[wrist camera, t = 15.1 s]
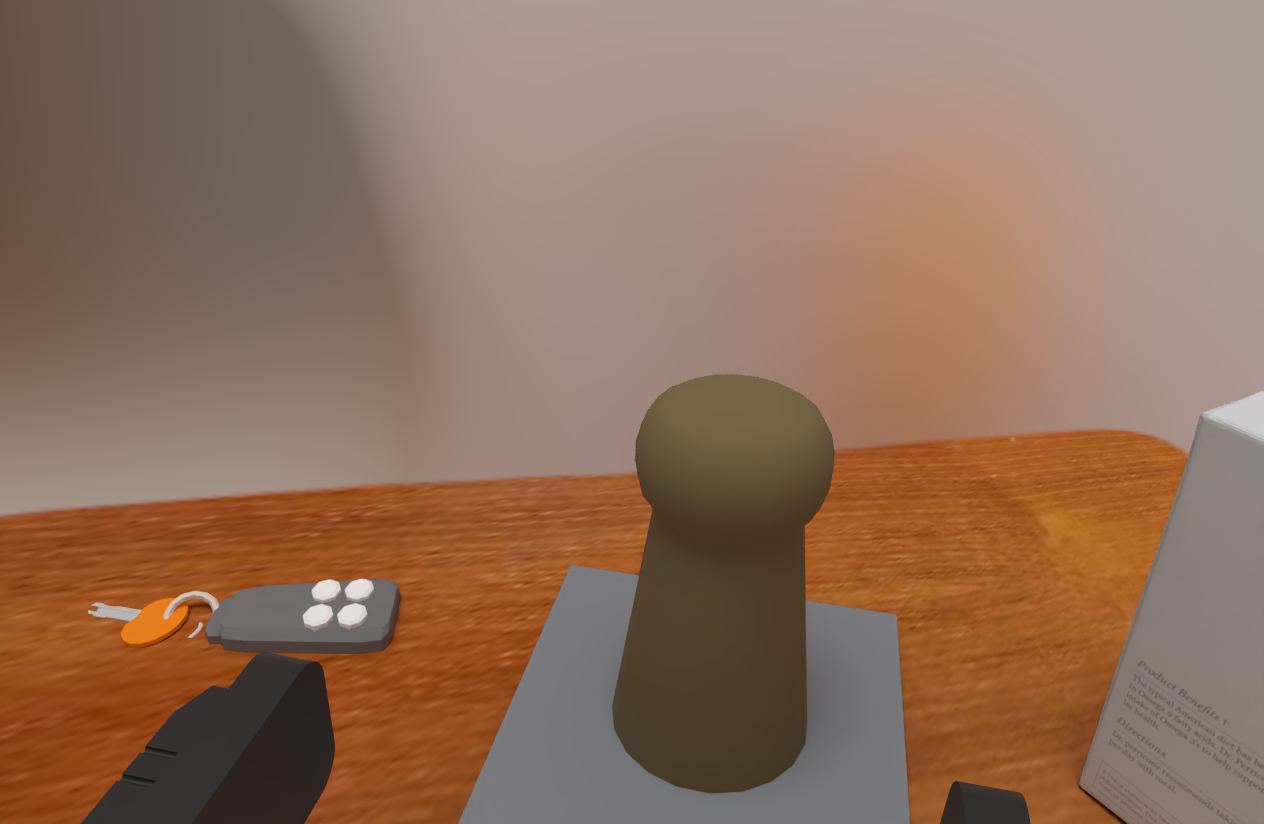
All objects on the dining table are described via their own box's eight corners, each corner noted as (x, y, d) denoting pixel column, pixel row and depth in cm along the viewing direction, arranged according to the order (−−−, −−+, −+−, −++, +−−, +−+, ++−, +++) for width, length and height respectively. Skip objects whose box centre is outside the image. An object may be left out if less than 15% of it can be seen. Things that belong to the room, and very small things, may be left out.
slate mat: (455, 846, 26) (454, 831, 25) (571, 577, 36) (571, 564, 36) (912, 940, 24) (916, 926, 23) (894, 627, 34) (897, 614, 34)
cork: (798, 653, 32) (843, 354, 27) (817, 801, 26) (878, 465, 21) (619, 640, 32) (629, 342, 27) (602, 784, 27) (610, 448, 22)
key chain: (404, 595, 36) (401, 563, 35) (390, 665, 32) (386, 631, 32) (43, 603, 35) (33, 570, 34) (-10, 676, 31) (-23, 642, 31)
